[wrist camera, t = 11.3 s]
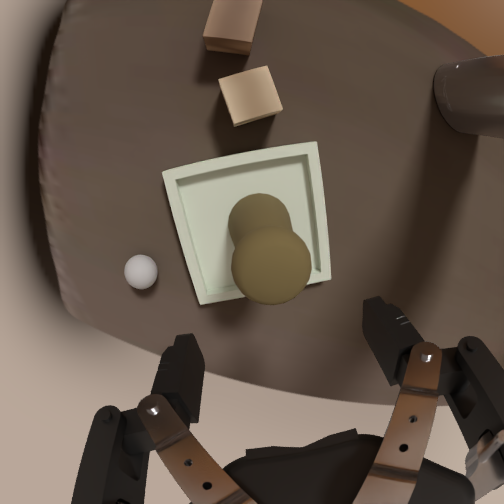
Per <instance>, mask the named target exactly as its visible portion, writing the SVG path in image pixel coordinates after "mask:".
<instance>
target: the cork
mask: <svg viewBox="0 0 504 504" xmlns="http://www.w3.org/2000/svg"><path fill="white" fill-rule="evenodd" d="M228 229H229V233H230V236H231V239H232V242H233V245H234V247H235V250H234V252H233V254H232V262H231V272H232V276H233V280H234V282H235V284H236V286H237V287H238V288H239V290H240V291H241V293H242V294H243V295H245V296H246V297H247V298H249V299H250V300H252V301H255V302H257V303H260V304H264V305H277V304H282V303H285V302H287V301H289V300H291V299H293V298H295V297H296V296H297V295H298V294H299V293H300V292H301V291H302V290H303V289H304V288H305V286H306V284H307V283H308V281H309V279H310V275H311V271H312V263H311V254H310V252H309V250H308V248H307V246H306V244H305V242H304V241H303V240H302V239H301V238H300V237H299V236H298V235H297V234H296V233H295V232H293V229H292V224H291V219H290V215H289V212H288V210H287V208H286V206H285V205H284V204H283V203H282V202H281V201H280V200H279V199H278V198H276V197H274V196H272V195H269V194H263V193H256V194H251V195H248V196H246V197H244V198H242V199H240V200H239V201H238V202H237V203H236V204H235V205H234V207H233V208H232V210H231V212H230V215H229V219H228Z"/></svg>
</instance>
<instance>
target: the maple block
mask: <svg viewBox="0 0 504 504" xmlns="http://www.w3.org/2000/svg"><path fill="white" fill-rule="evenodd" d="M218 80H219V84H220V88H221V91H222V94H223V96H224V99H225V102H226V105H227V108H228V110H229V113H230V116H231V119H232V122H233V125H234V127H236V126H239V125H242V124H245V123H248V122H252V121H255V120H258V119H262V118H265V117H269V116H272V115H276V114H277V113H279V112H280V111H282V110H283V108H282V105H281V102H280V99H279V97H278V94H277V91H276V88H275V85H274V83H273V80H272V77H271V75H270V72H269V69H268V67H267V66H263V67H259V68H255V69H252V70H248V71H244V72H241V73H237V74H234V75H231V76H227V77H224V78H221V79H218Z"/></svg>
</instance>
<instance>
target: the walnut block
mask: <svg viewBox="0 0 504 504" xmlns="http://www.w3.org/2000/svg"><path fill="white" fill-rule="evenodd" d="M262 3H263V0H214V2H213V5H212V8H211V11H210V14H209V17H208V20H207V24H206V27H205V30H204V34H203V38H204V41H205V45H206V48H207V50H211V51H220V52H228V53H235V54H242V55H248V56H249V55H250V51H251V46H252V42H253V38H254V34H255V30H256V26H257V23H258V19H259V15H260V11H261V7H262Z"/></svg>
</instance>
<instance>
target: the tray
mask: <svg viewBox="0 0 504 504" xmlns="http://www.w3.org/2000/svg"><path fill="white" fill-rule="evenodd" d="M162 174H163V178H164V182H165V186H166V190H167V194H168V198H169V202H170V206H171V210H172V213H173V217H174V221H175V224H176V228H177V232H178V235H179V239H180V242H181V246H182V249H183V252H184V256H185V259H186V262H187V266H188V269H189V272H190V275H191V278H192V281H193V285H194V288H195V291H196V294H197V297H198V300H199V303H200V305H201V304H207V303H213V302H219V301H225V300H230V299H236V298H242V297H246V296H245V295H243V294H242V293H241V291H240V290H239V288H238V287H237V286H236V284H235V282H234V280H233V276H232V272H231V262H232V254H233V252H234V250H235V247H234V245H233V242H232V239H231V236H230V233H229V229H228V219H229V215H230V212H231V210H232V208H233V207H234V205H235V204H236V203H237V202H238V201H239V200H240V199H242V198H244V197H246V196H248V195H251V194H256V193H263V194H269V195H272V196H274V197H276V198H278V199H279V200H280V201H281V202H282V203H283V204H284V205H285V206H286V208H287V210H288V212H289V215H290V219H291V224H292V229H293V232H295V233H296V234H297V235H298V236H299V237H300V238H301V239H302V240H303V241H304V242H305V244H306V246H307V248H308V250H309V252H310V254H311V263H312V271H311V275H310V279H309V281H308V283H307V284H312V283H316V282H321V281H326V280H330V279H331V268H330V253H329V240H328V229H327V218H326V209H325V199H324V191H323V183H322V175H321V168H320V161H319V154H318V147H317V142H305V143H298V144H291V145H284V146H277V147H271V148H265V149H259V150H253V151H248V152H243V153H237V154H232V155H227V156H223V157H218V158H213V159H209V160H205V161H200V162H196V163H192V164H188V165H184V166H180V167H176V168H172V169H168V170H165V171H163V172H162ZM307 284H306V285H307Z"/></svg>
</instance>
